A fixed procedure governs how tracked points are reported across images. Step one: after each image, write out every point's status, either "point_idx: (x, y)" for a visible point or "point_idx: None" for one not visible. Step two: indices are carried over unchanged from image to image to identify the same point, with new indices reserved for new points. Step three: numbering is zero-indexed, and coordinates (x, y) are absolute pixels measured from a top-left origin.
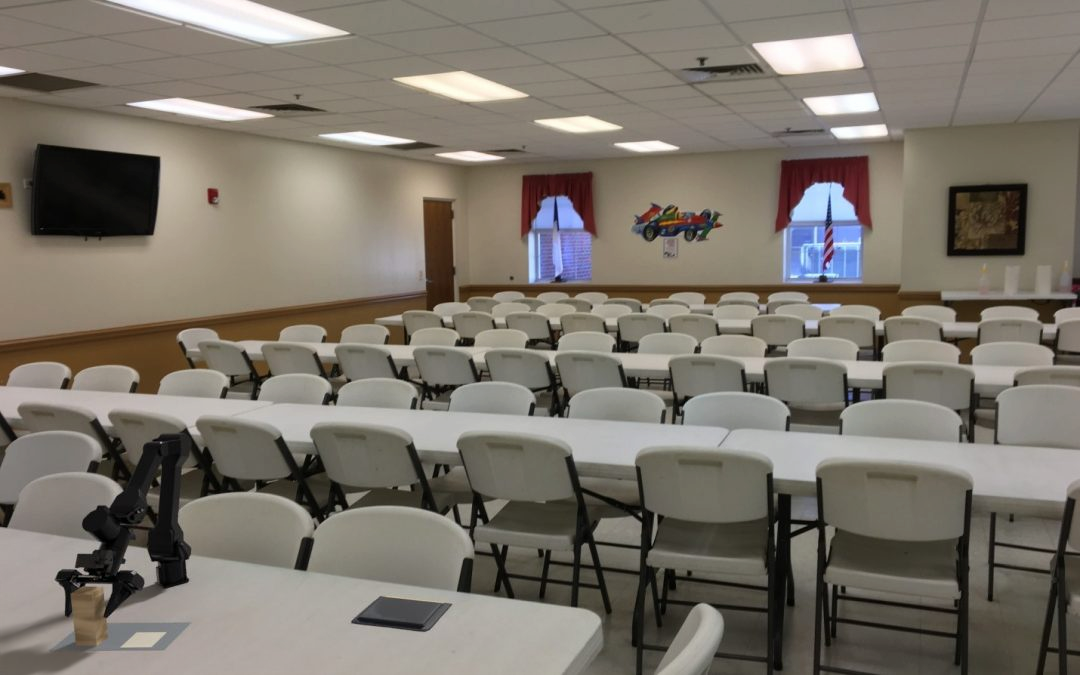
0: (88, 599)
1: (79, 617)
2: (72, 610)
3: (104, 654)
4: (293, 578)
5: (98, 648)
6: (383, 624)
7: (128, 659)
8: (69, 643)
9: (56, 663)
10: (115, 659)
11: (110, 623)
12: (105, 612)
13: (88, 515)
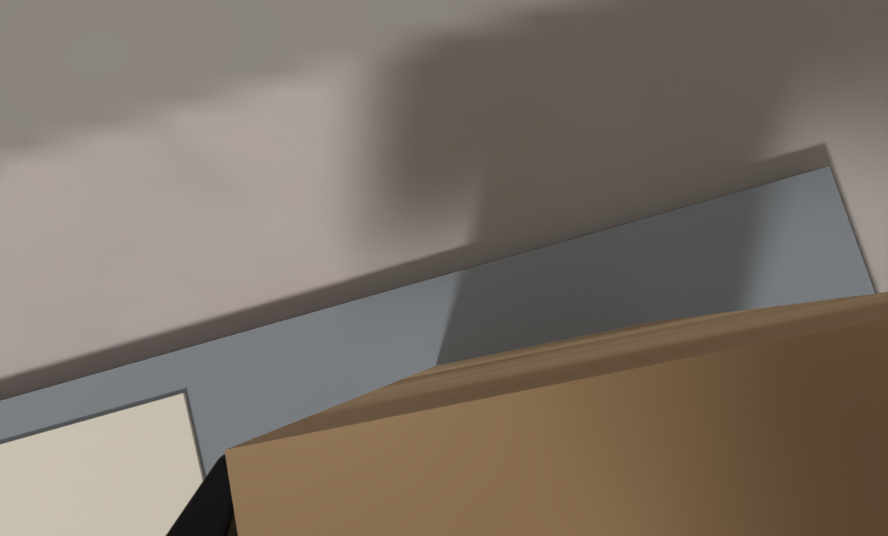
0: (421, 398)
1: (654, 330)
2: (835, 299)
3: (277, 290)
4: None
5: (377, 328)
6: None
7: (6, 276)
8: None
9: (569, 48)
10: (114, 245)
11: None
12: (209, 499)
13: None
